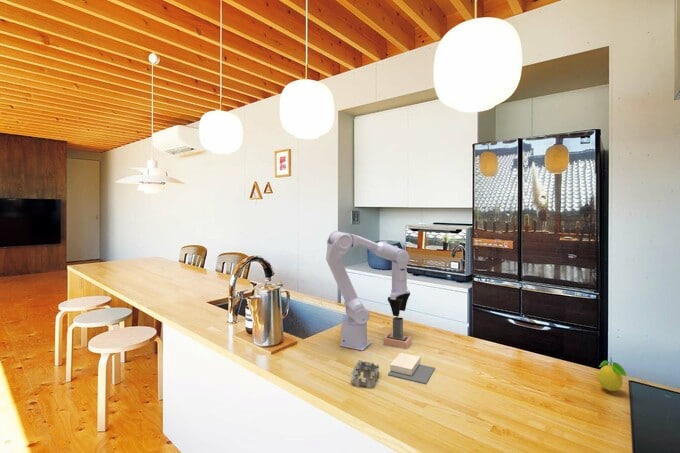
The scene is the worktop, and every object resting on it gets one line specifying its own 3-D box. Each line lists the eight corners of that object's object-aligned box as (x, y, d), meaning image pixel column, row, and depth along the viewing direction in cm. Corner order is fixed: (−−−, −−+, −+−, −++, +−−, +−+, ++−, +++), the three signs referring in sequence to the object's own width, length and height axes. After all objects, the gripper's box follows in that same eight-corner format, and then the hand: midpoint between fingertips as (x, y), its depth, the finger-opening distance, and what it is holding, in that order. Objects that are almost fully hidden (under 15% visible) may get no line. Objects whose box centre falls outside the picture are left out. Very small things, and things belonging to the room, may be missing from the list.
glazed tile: (400, 358, 121) (390, 371, 112) (400, 352, 121) (390, 364, 112) (420, 363, 118) (411, 376, 109) (420, 356, 118) (411, 369, 109)
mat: (387, 375, 111) (387, 374, 111) (399, 361, 120) (399, 360, 120) (426, 384, 105) (426, 383, 105) (434, 368, 115) (434, 367, 115)
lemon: (625, 400, 96) (627, 364, 95) (598, 394, 99) (600, 359, 98) (621, 389, 101) (623, 355, 101) (596, 383, 104) (598, 350, 104)
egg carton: (373, 390, 103) (373, 376, 102) (349, 386, 105) (349, 373, 105) (381, 373, 113) (381, 360, 112) (358, 369, 115) (358, 357, 115)
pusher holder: (406, 349, 130) (406, 342, 130) (383, 344, 134) (383, 338, 134) (411, 343, 135) (411, 336, 135) (388, 339, 140) (388, 332, 139)
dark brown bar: (404, 347, 132) (404, 320, 131) (389, 344, 135) (389, 318, 134) (406, 344, 135) (406, 318, 134) (391, 341, 137) (391, 316, 137)
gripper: (403, 284, 130) (403, 320, 131) (414, 276, 142) (414, 309, 143) (385, 282, 133) (385, 317, 134) (397, 274, 146) (397, 307, 147)
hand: (399, 313), depth 139 cm, fingers open, 7 cm apart
